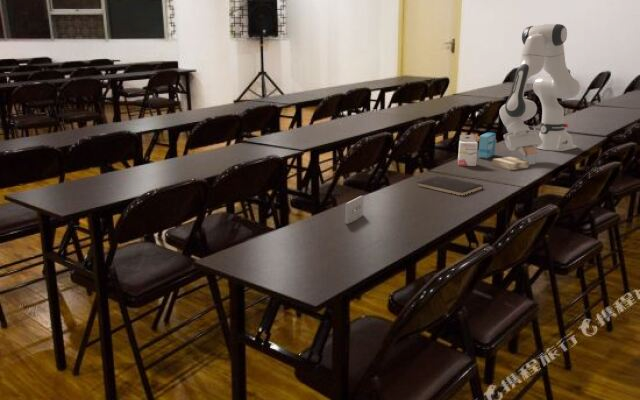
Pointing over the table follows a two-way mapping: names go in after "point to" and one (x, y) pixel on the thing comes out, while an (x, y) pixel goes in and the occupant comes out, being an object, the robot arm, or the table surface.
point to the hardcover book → (450, 185)
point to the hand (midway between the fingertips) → (530, 154)
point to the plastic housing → (530, 155)
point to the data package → (487, 145)
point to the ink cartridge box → (467, 151)
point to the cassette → (353, 213)
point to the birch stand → (510, 163)
